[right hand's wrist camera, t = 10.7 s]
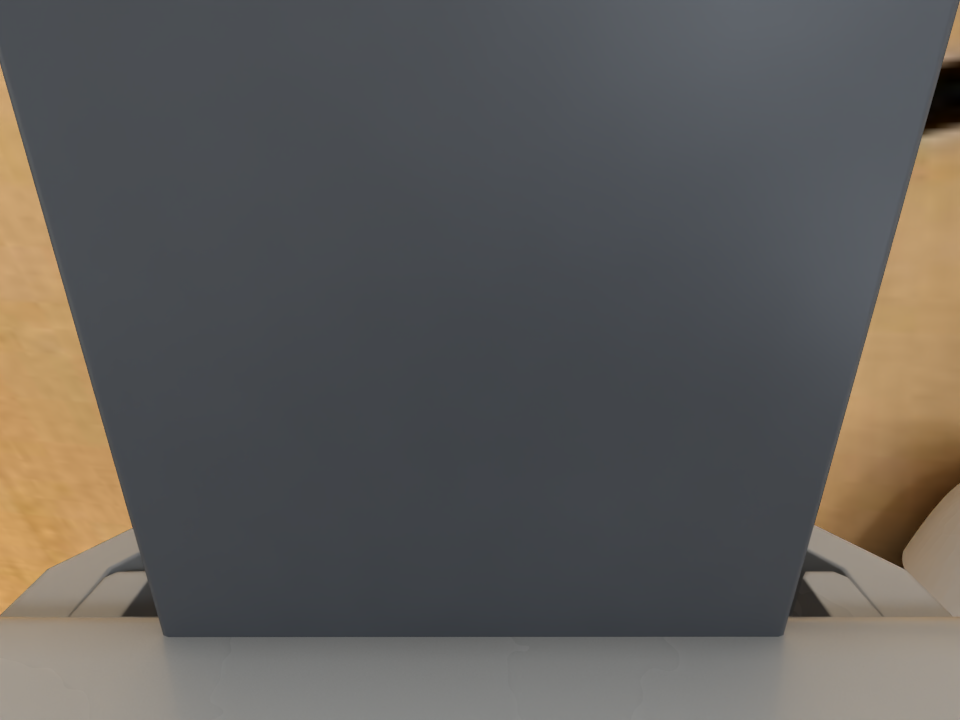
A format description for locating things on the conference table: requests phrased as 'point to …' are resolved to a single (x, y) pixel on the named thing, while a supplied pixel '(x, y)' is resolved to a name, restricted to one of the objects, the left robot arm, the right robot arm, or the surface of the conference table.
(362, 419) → the bar
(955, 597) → the grey plastic housing
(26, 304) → the conference table surface
